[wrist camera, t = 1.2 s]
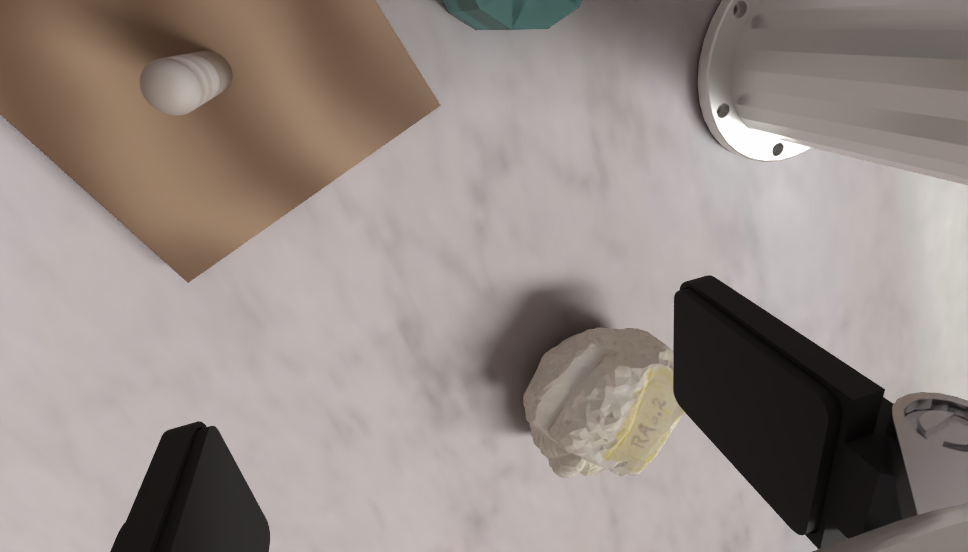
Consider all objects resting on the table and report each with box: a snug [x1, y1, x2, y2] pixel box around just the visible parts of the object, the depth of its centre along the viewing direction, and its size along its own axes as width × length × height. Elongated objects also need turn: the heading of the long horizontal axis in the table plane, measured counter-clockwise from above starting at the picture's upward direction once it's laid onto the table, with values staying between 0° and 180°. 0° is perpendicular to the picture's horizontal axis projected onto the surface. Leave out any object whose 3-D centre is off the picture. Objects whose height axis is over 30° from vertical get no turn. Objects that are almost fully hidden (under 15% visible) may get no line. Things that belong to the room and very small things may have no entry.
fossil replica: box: [523, 327, 686, 478], centre depth 36 cm, size 12×8×10 cm
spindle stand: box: [0, 0, 440, 283], centre depth 21 cm, size 16×14×9 cm
